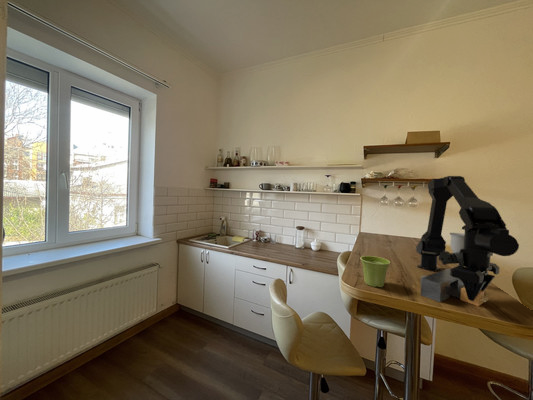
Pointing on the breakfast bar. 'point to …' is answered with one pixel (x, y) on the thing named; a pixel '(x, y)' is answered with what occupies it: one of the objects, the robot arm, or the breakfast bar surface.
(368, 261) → the plant pot
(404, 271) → the breakfast bar surface
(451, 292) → the plug
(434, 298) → the block
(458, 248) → the chalice
